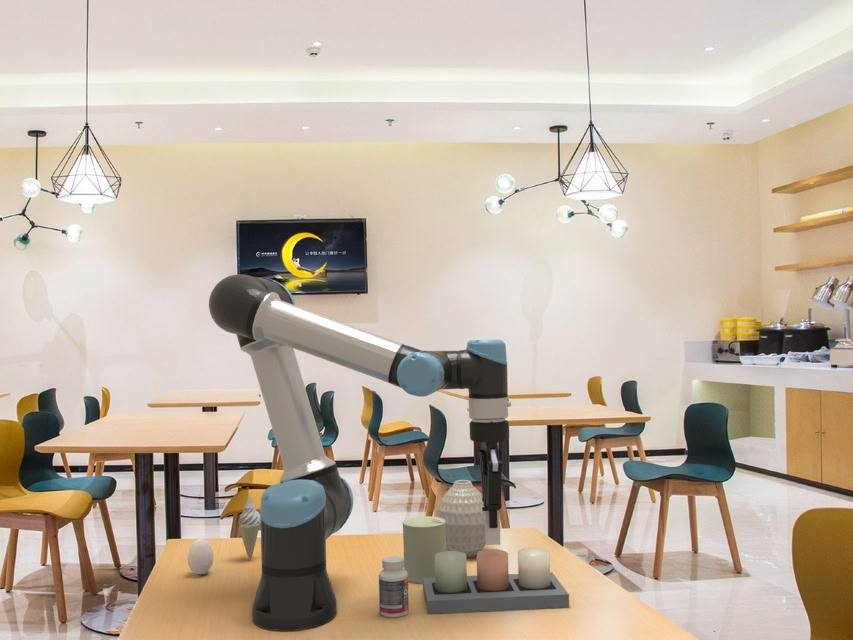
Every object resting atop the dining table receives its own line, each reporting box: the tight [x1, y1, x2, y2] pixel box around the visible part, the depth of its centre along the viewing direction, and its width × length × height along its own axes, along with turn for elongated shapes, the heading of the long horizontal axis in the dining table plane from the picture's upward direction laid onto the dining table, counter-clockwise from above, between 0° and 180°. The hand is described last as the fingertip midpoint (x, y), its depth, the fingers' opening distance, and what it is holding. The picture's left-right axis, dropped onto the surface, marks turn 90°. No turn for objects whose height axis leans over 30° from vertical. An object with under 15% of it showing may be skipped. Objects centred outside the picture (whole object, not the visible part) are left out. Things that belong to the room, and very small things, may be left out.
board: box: [422, 571, 570, 615], centre depth 143 cm, size 26×13×2 cm, turn 94°
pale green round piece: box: [435, 550, 468, 593], centre depth 143 cm, size 6×6×6 cm
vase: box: [435, 479, 487, 559], centre depth 173 cm, size 13×13×17 cm
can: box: [402, 515, 447, 585], centre depth 157 cm, size 9×9×12 cm
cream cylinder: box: [517, 547, 551, 589], centre depth 144 cm, size 6×6×6 cm
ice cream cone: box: [237, 494, 261, 561], centre depth 172 cm, size 5×5×15 cm
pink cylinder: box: [476, 548, 509, 591], centre depth 143 cm, size 6×6×6 cm
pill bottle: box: [378, 555, 410, 618], centre depth 137 cm, size 5×5×10 cm
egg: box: [187, 538, 214, 575], centre depth 162 cm, size 5×5×8 cm
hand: (492, 543), depth 143 cm, fingers closed
